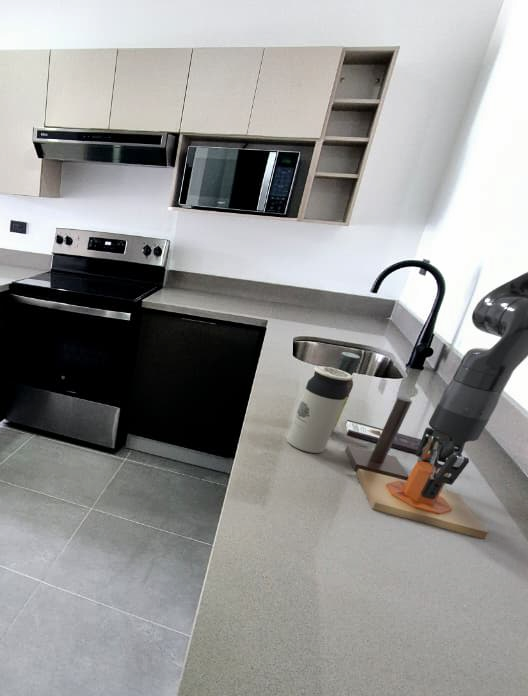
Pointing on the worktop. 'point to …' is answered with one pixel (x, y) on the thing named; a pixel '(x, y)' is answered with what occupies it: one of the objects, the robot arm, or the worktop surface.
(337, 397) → the travel mug
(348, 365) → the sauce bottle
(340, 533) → the worktop surface
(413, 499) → the hat
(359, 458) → the hat stand
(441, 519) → the oak board
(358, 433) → the chocolate bar
